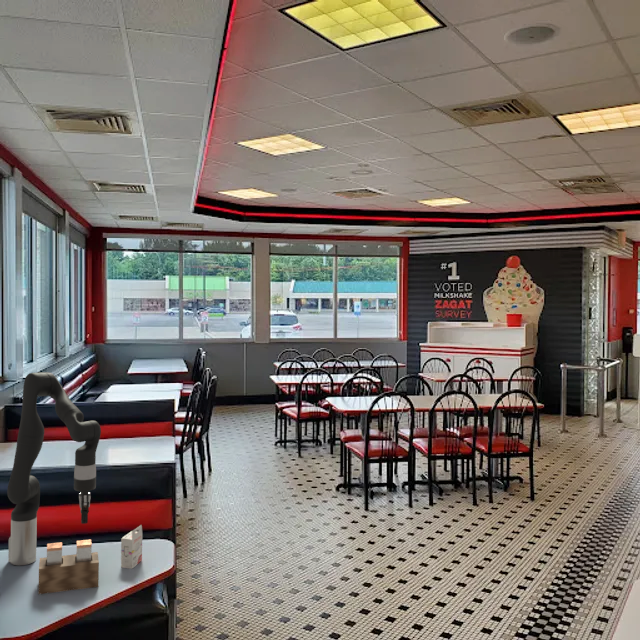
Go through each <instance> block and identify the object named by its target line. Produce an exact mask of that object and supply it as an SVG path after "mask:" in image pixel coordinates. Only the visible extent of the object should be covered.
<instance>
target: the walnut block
mask: <svg viewBox="0 0 640 640" xmlns="http://www.w3.org/2000/svg"><path fill="white" fill-rule="evenodd" d="M99 566H100V561H99V553H98V551H95V552H91V561H87V562H77V563H76V554H66V555H62V564H59V565H50V566H47V556H45V557H39V564H38V593H37V594H38V595H42V594H52V593H53V594H54V593H59V592H67V591H69V592H70V591H75V590H83V589H84V590H85V589H92V588H99V582H100V581H99V577H100V575H99V574H100V572H99V571H100V567H99Z"/></svg>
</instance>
